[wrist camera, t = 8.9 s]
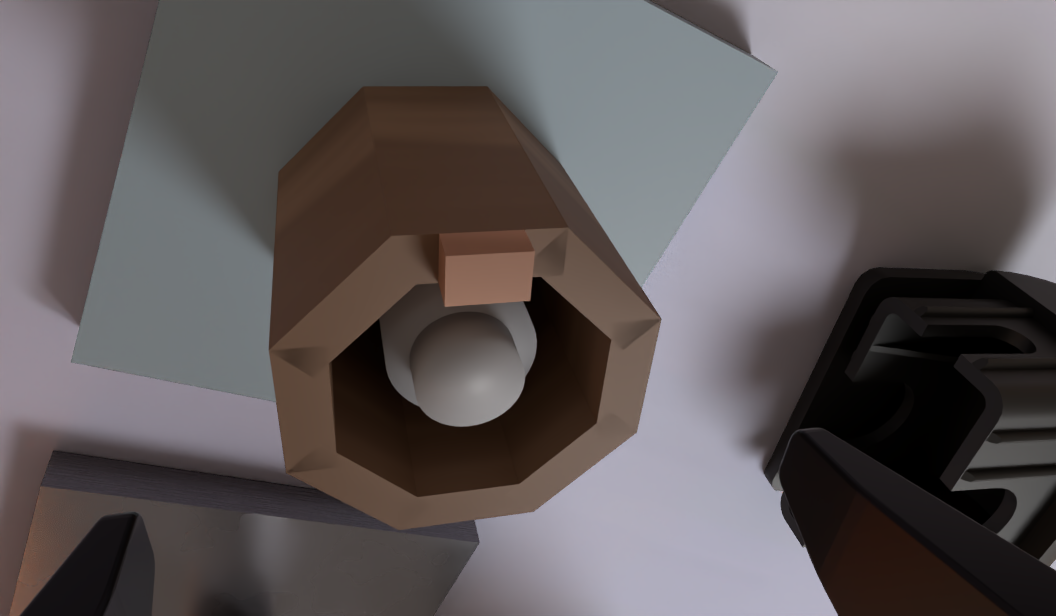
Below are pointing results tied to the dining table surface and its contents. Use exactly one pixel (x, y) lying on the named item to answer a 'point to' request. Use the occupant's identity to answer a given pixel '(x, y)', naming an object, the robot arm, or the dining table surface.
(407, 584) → the stand
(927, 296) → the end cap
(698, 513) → the dining table surface
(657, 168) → the grey peg base
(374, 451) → the sleeve
